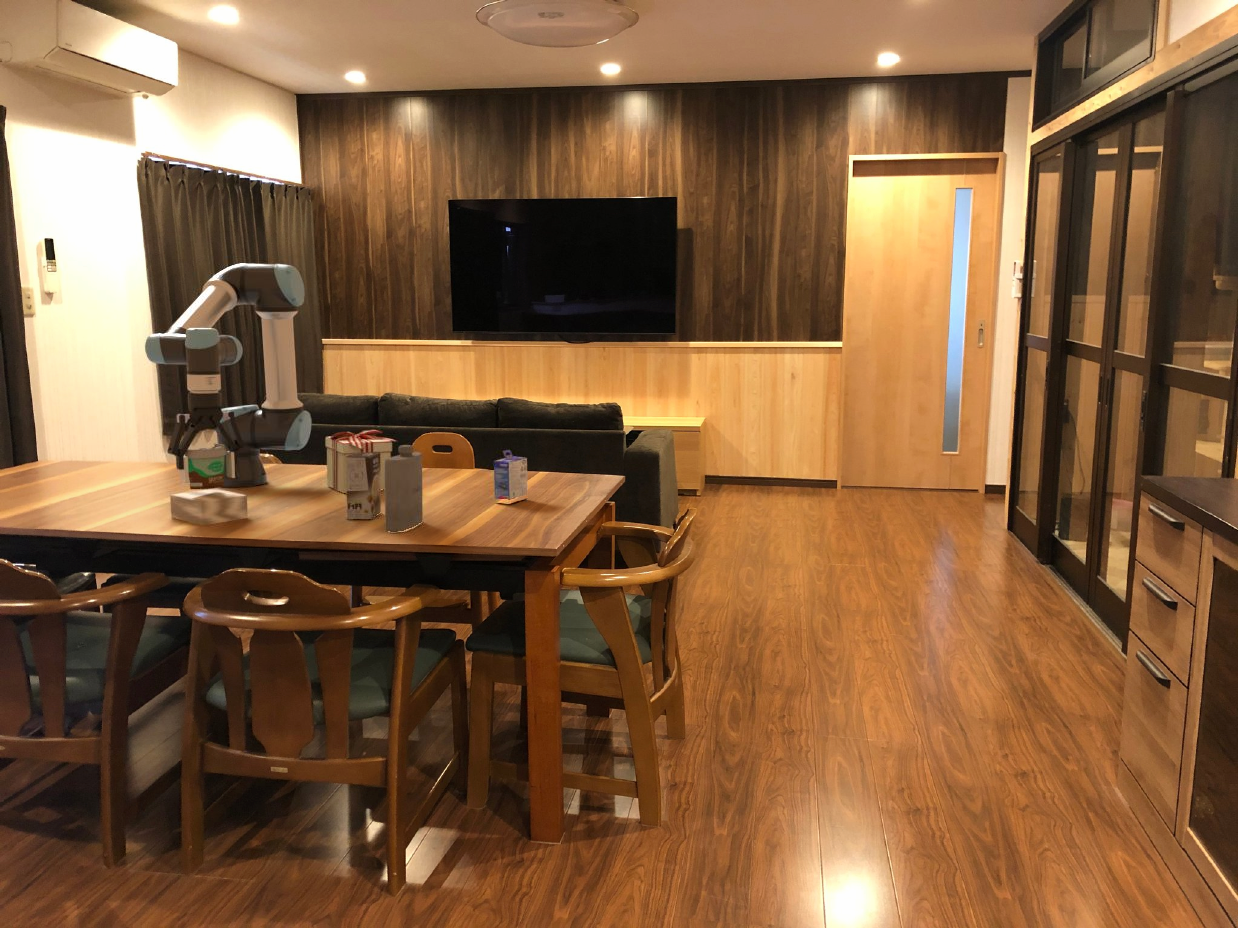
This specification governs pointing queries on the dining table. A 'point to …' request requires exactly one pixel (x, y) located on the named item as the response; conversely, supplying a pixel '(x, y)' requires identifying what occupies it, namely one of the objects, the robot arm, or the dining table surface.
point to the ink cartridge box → (510, 477)
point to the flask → (403, 490)
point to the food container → (206, 467)
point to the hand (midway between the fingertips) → (208, 479)
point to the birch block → (209, 506)
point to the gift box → (349, 445)
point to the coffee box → (363, 485)
